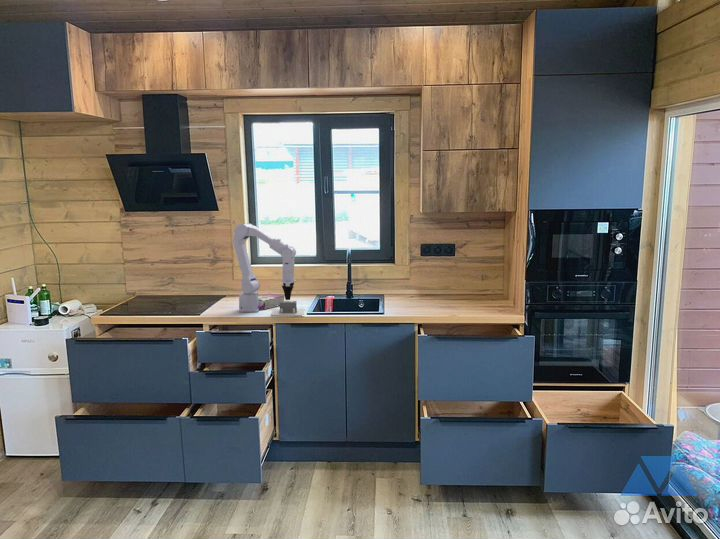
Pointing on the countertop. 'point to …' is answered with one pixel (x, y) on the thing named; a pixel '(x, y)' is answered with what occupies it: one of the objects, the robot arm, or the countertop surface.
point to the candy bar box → (269, 301)
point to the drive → (288, 306)
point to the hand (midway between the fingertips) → (288, 298)
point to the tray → (277, 313)
